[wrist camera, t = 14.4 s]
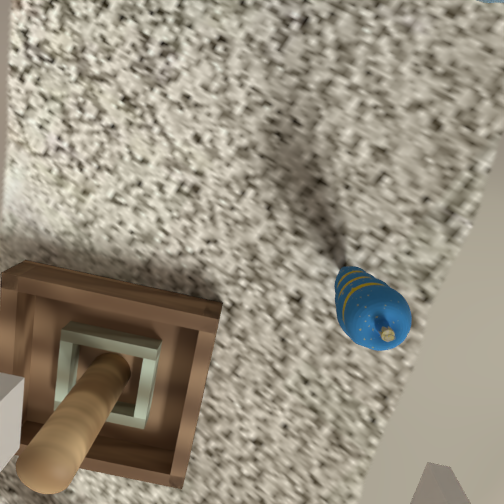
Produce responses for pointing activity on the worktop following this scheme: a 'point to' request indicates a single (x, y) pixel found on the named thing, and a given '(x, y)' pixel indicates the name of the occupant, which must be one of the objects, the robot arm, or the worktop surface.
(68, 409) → the peg
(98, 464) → the box
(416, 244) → the worktop surface
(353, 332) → the ornament
